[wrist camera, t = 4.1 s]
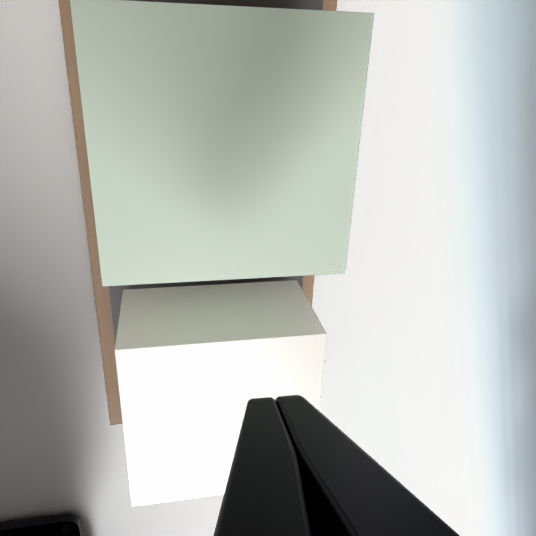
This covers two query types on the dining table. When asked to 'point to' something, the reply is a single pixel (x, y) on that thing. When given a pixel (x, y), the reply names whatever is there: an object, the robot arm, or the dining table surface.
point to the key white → (206, 377)
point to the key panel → (104, 295)
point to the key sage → (220, 137)
